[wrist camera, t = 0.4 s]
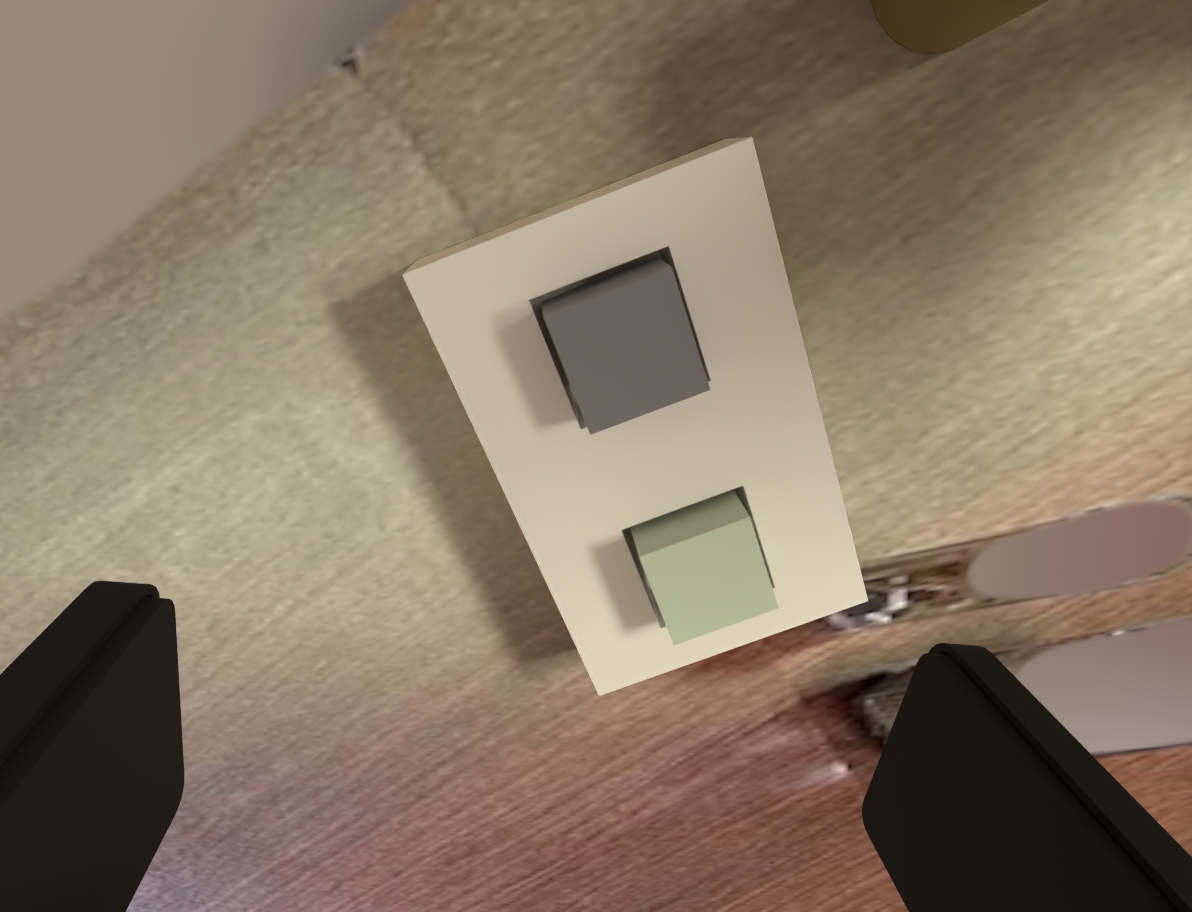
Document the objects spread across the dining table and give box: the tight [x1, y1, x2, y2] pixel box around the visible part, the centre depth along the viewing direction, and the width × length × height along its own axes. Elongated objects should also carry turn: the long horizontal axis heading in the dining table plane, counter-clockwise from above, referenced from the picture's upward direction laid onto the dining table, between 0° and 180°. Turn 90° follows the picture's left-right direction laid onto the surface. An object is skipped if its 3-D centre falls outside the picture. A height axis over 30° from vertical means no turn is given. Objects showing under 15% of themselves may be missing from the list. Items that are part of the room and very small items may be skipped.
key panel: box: [402, 137, 868, 696], centre depth 33 cm, size 14×22×4 cm, turn 20°
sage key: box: [630, 489, 779, 645], centre depth 33 cm, size 5×5×3 cm
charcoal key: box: [542, 256, 710, 435], centre depth 29 cm, size 5×5×3 cm
